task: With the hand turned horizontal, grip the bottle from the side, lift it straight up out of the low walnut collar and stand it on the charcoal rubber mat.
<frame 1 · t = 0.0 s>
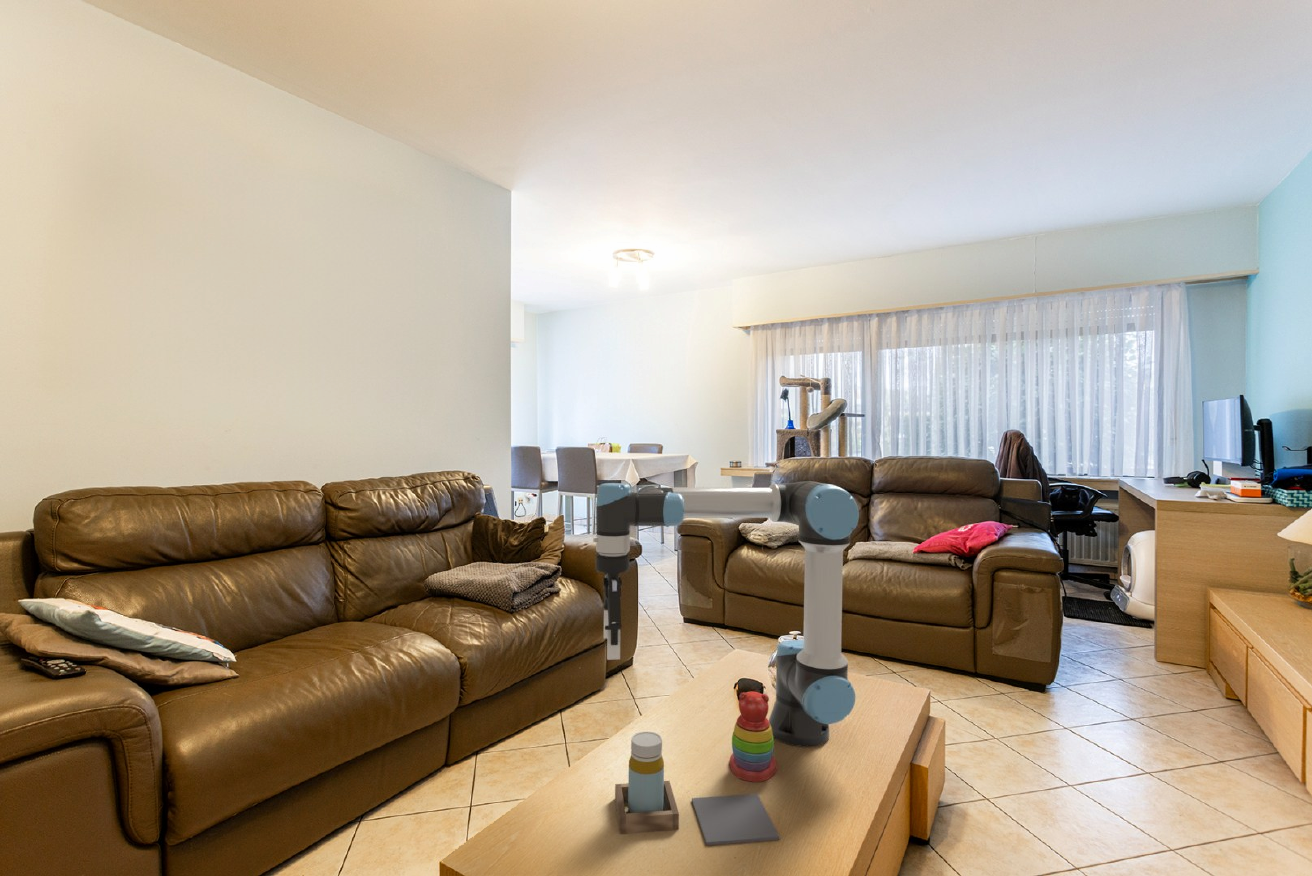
hand: (611, 648, 140), 28 cm above the table, tool pointing down, fingers open, 13 cm apart
bottle: (645, 814, 125), resting in walnut collar
charcoal mat: (733, 819, 124), on the table
walnut collar: (645, 813, 125), on the table
stacking bear: (752, 771, 142), on the table
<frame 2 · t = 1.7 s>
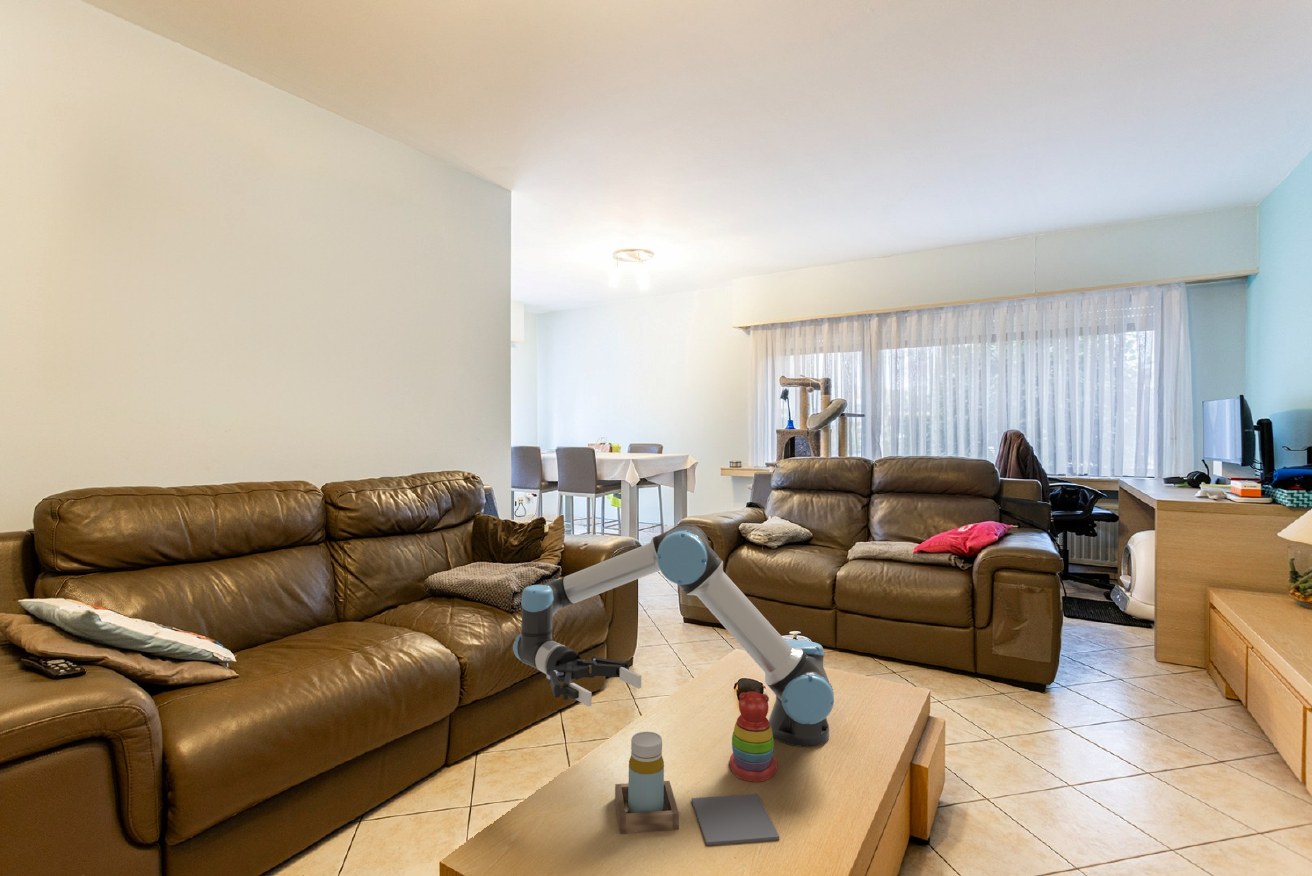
hand: (616, 690, 132), 22 cm above the table, tool horizontal, fingers open, 13 cm apart
nothing on the table moved.
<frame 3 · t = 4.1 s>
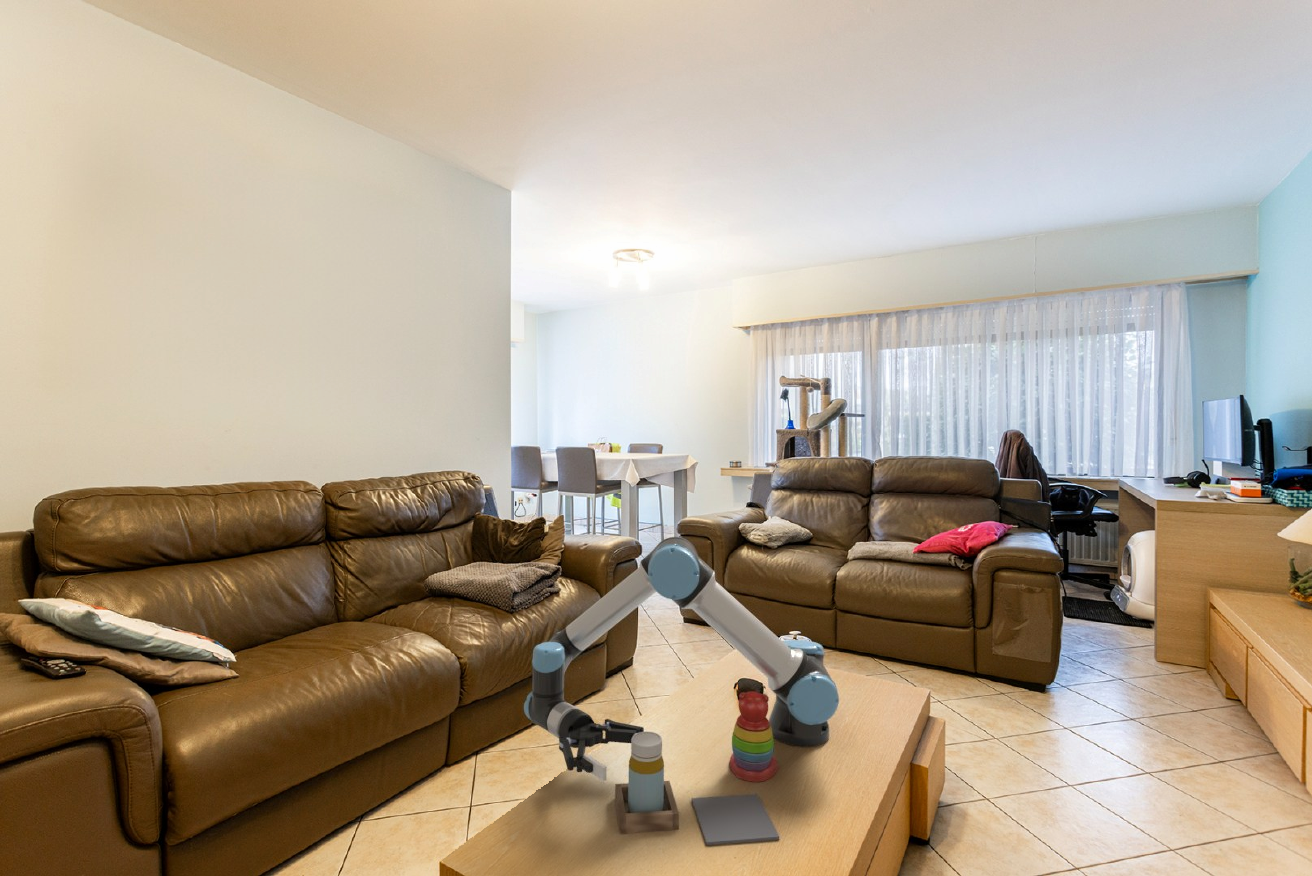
hand: (631, 762, 128), 9 cm above the table, tool horizontal, fingers open, 13 cm apart
nothing on the table moved.
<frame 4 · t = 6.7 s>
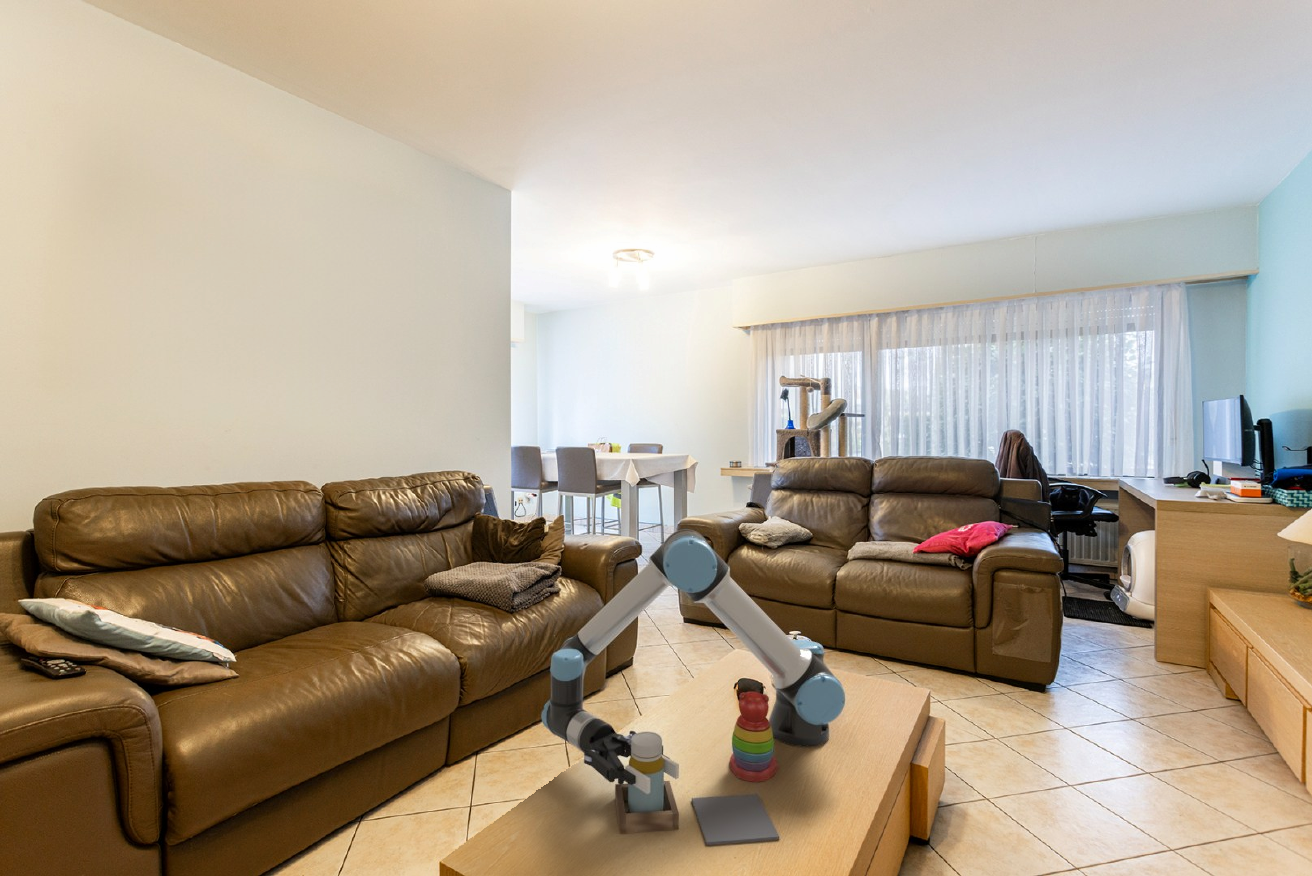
hand: (663, 778, 122), 9 cm above the table, tool horizontal, fingers closed on bottle, 7 cm apart
bottle: (645, 814, 125), resting in walnut collar, touching gripper
everything else where it was.
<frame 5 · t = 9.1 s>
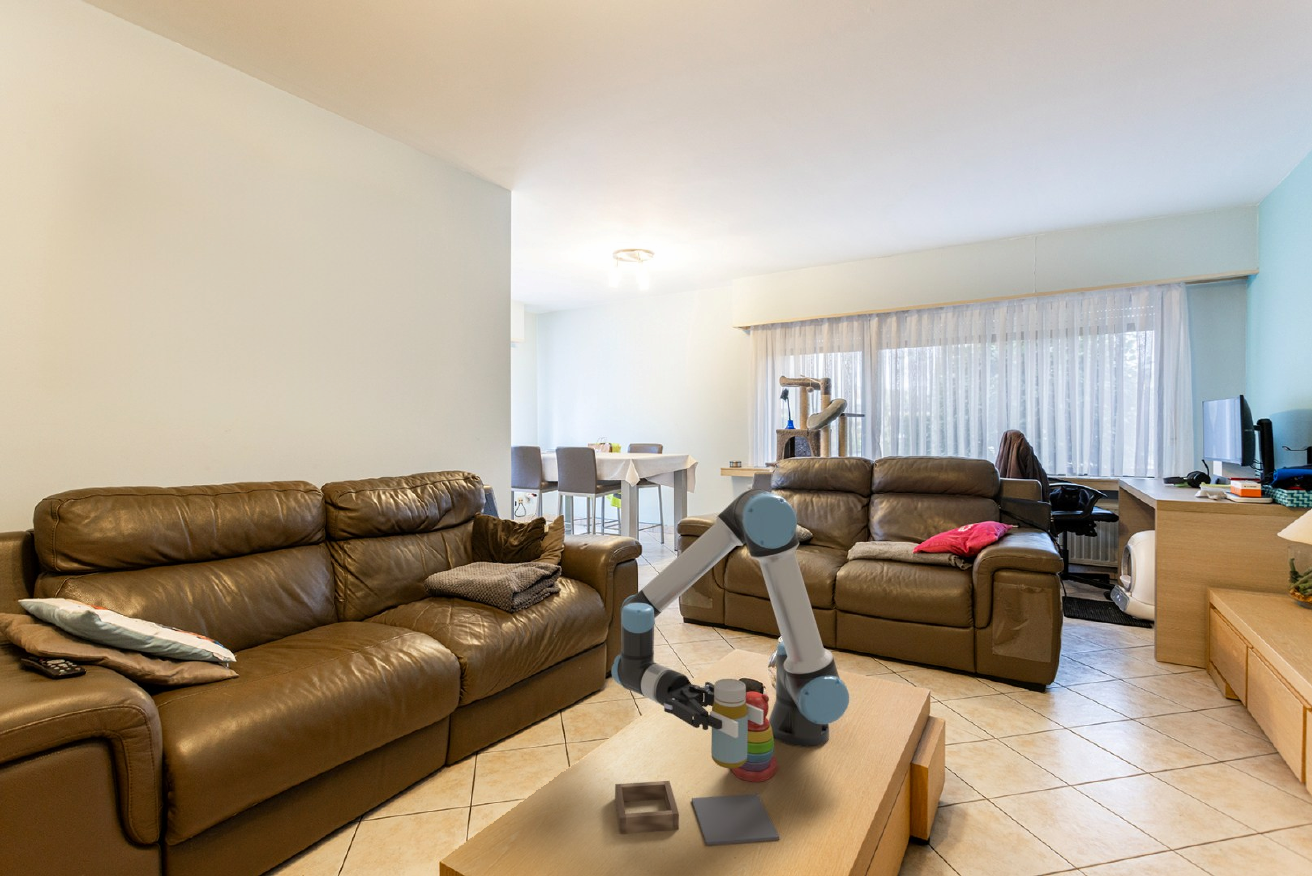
hand: (749, 723, 120), 21 cm above the table, tool horizontal, fingers closed on bottle, 7 cm apart
bottle: (729, 761, 124), point 12 cm above the table, touching gripper
everything else where it was.
when the fingers open (11 cm above the table, at t = 11.9 s): bottle drops 1 cm, resting on charcoal mat.
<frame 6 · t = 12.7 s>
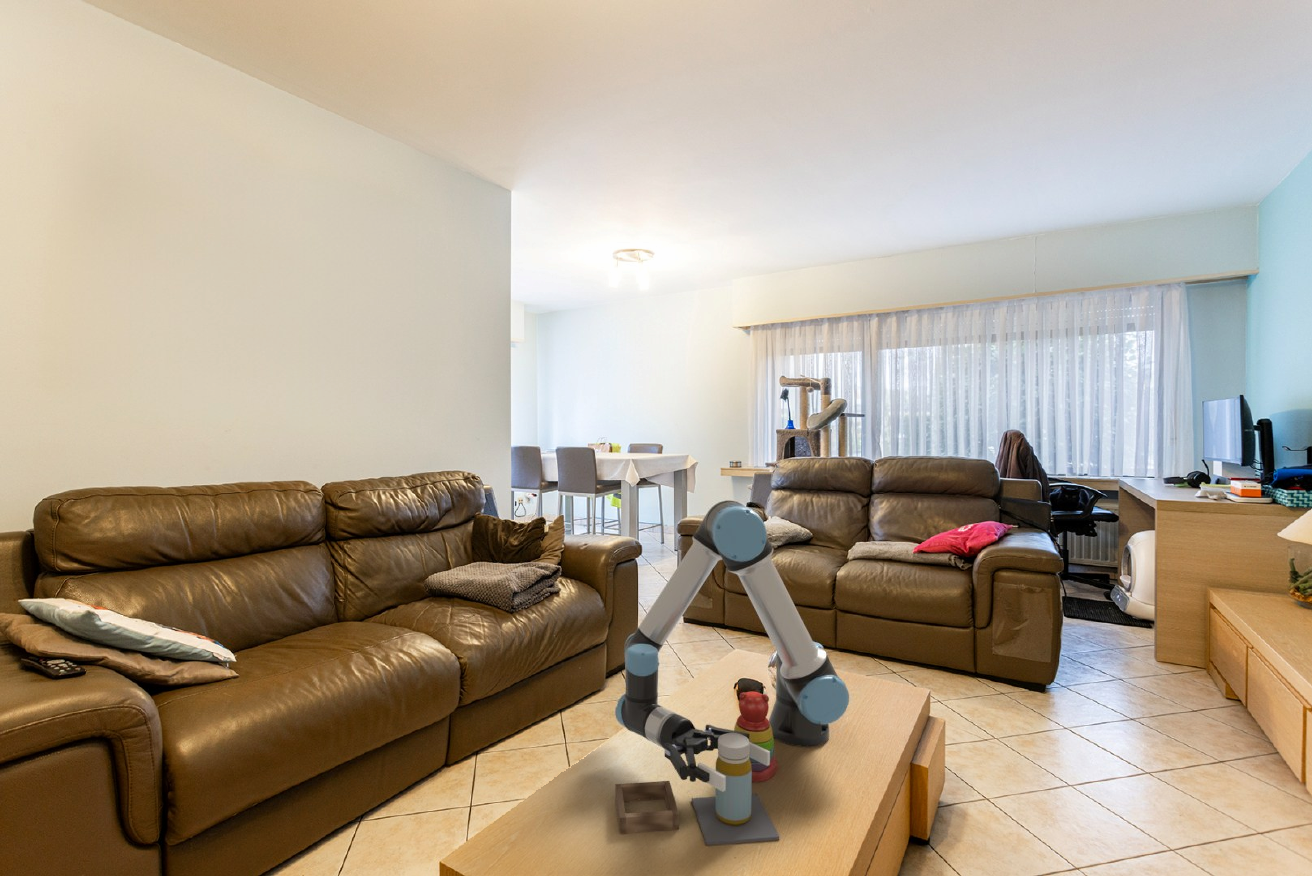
hand: (747, 771, 121), 11 cm above the table, tool horizontal, fingers open, 13 cm apart
bottle: (733, 817, 124), resting on charcoal mat
everything else where it was.
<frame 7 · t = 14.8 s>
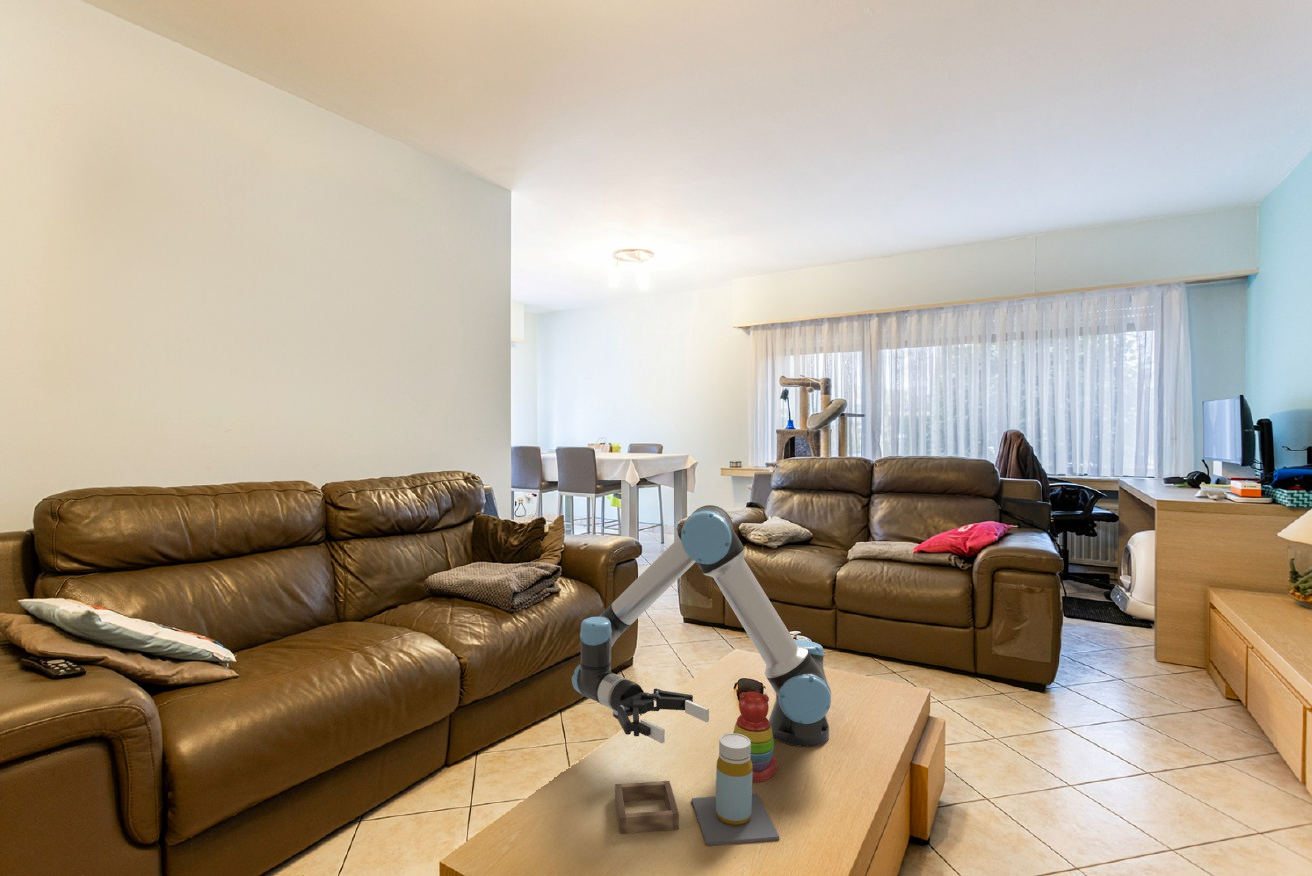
hand: (686, 725, 132), 14 cm above the table, tool horizontal, fingers open, 13 cm apart
nothing on the table moved.
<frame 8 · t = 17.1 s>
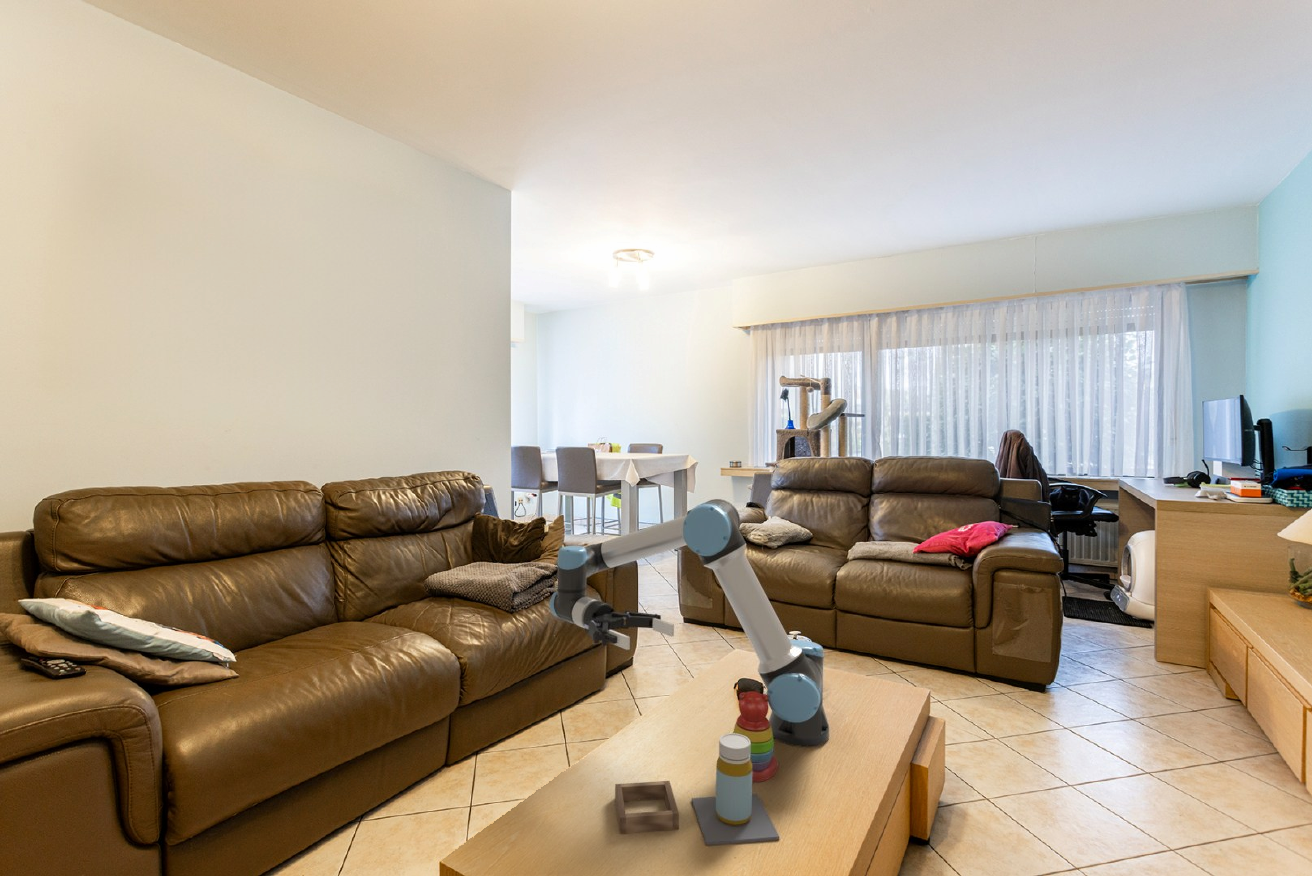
hand: (651, 636, 141), 30 cm above the table, tool horizontal, fingers open, 13 cm apart
stacking bear: (752, 771, 142), on the table, touching arm
everything else where it was.
at the end: bottle inside the target area on the charcoal mat (0.1 cm from its centre), point 0.4 cm above the charcoal mat's base; bottle tilted 0°; the gripper is holding nothing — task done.
